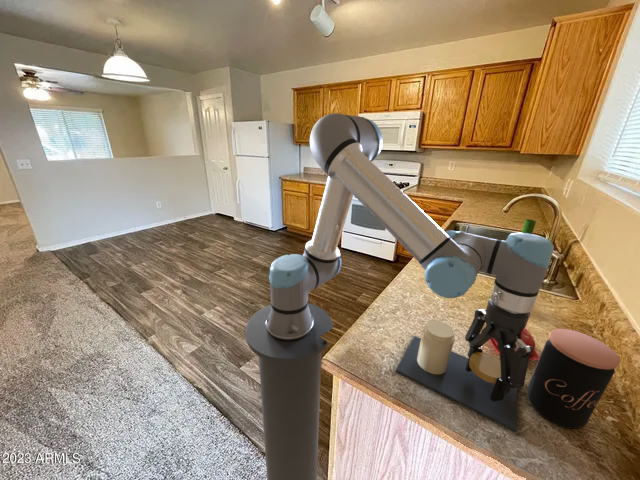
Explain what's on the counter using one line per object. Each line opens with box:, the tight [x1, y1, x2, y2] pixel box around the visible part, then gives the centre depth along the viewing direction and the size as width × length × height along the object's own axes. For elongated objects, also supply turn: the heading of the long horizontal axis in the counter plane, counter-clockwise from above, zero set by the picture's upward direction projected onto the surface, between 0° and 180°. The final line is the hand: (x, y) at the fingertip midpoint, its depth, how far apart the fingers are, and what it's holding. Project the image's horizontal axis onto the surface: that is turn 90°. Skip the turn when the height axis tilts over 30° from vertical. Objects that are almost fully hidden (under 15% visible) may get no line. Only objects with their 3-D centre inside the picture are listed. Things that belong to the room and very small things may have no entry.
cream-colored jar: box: [417, 319, 456, 374], centre depth 69 cm, size 8×8×11 cm
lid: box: [468, 352, 501, 384], centre depth 63 cm, size 8×8×2 cm
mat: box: [395, 335, 518, 433], centre depth 68 cm, size 26×16×1 cm, turn 55°
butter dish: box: [488, 327, 540, 362], centre depth 77 cm, size 12×12×8 cm
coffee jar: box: [526, 328, 621, 429], centre depth 57 cm, size 11×11×18 cm
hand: (482, 383), depth 65 cm, fingers closed on lid, 8 cm apart
